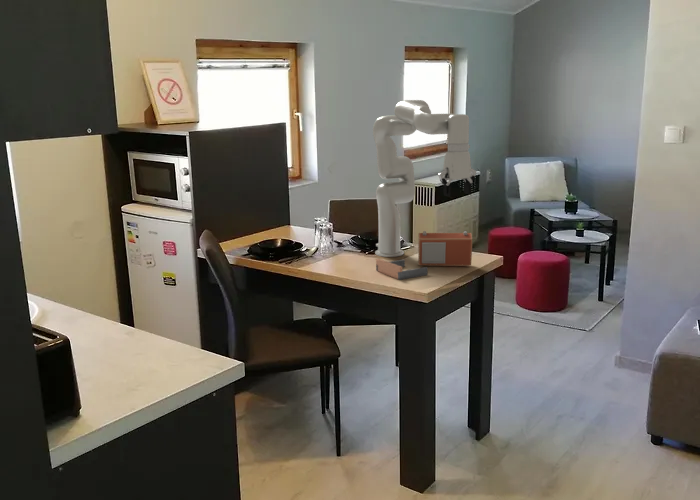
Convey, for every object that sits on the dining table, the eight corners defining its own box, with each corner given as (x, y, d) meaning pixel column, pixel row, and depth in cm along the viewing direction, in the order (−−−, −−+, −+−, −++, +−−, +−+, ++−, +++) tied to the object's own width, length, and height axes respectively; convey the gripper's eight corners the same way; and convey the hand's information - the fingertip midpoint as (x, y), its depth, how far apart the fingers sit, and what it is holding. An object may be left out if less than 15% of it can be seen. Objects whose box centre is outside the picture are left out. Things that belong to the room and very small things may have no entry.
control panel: (470, 261, 273) (471, 229, 266) (471, 269, 267) (472, 237, 260) (418, 261, 276) (418, 229, 268) (418, 269, 269) (418, 237, 262)
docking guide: (376, 271, 264) (376, 259, 263) (403, 266, 271) (403, 254, 270) (399, 279, 251) (399, 267, 250) (427, 274, 257) (427, 262, 256)
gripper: (469, 147, 249) (468, 191, 253) (433, 149, 240) (432, 195, 244) (482, 147, 243) (481, 194, 246) (446, 150, 234) (445, 197, 238)
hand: (457, 194), depth 245 cm, fingers open, 9 cm apart
